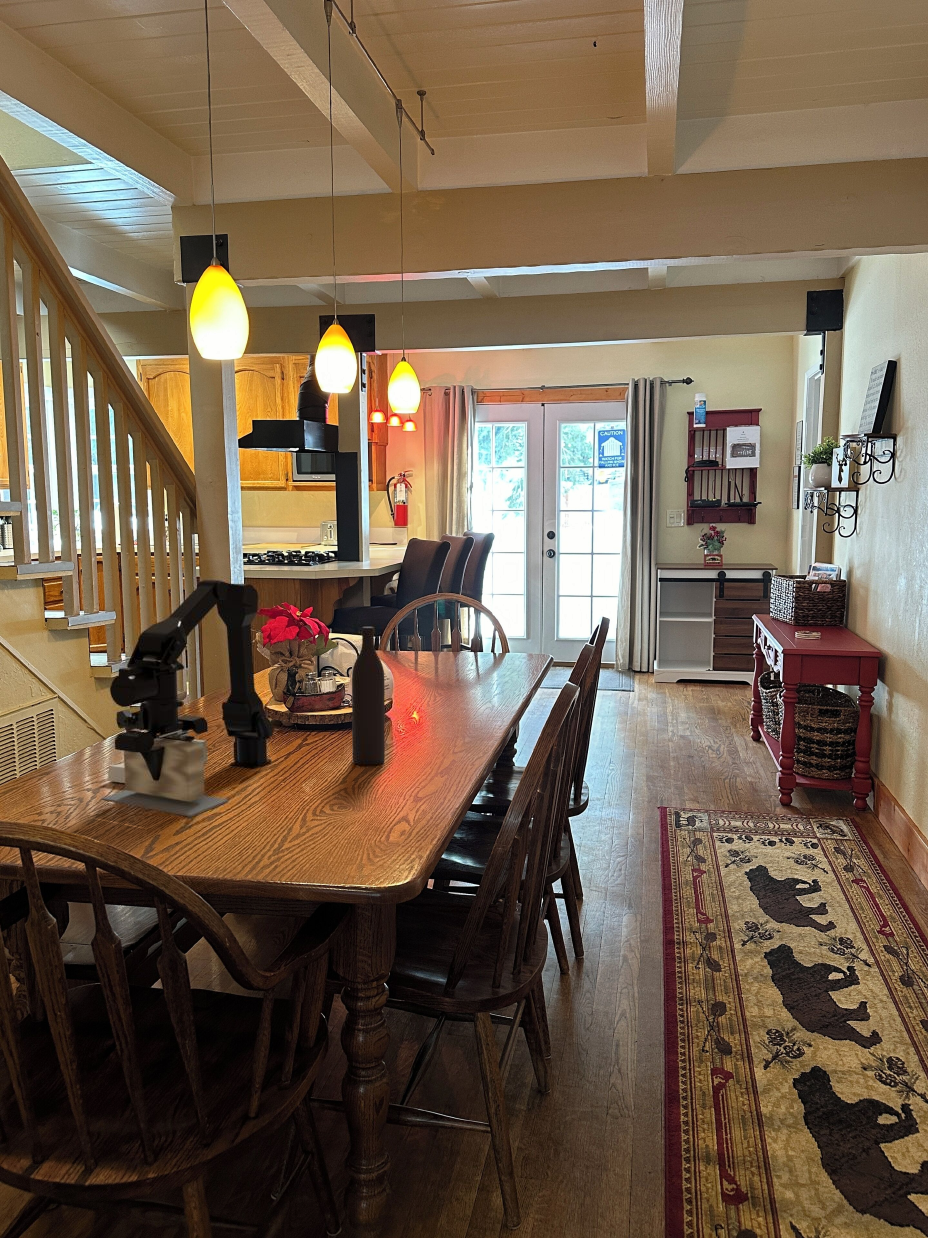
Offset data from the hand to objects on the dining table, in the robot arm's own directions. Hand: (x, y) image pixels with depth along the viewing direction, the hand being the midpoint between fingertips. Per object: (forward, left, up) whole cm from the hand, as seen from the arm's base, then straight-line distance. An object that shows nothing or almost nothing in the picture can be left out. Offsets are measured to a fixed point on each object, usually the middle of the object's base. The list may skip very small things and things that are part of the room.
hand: (164, 777), depth 175 cm
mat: (0, 0, -5) cm, 5 cm away
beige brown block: (0, 0, -3) cm, 3 cm away
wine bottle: (-20, -41, -5) cm, 46 cm away
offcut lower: (+13, -6, -4) cm, 15 cm away
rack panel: (+17, -24, -5) cm, 29 cm away
